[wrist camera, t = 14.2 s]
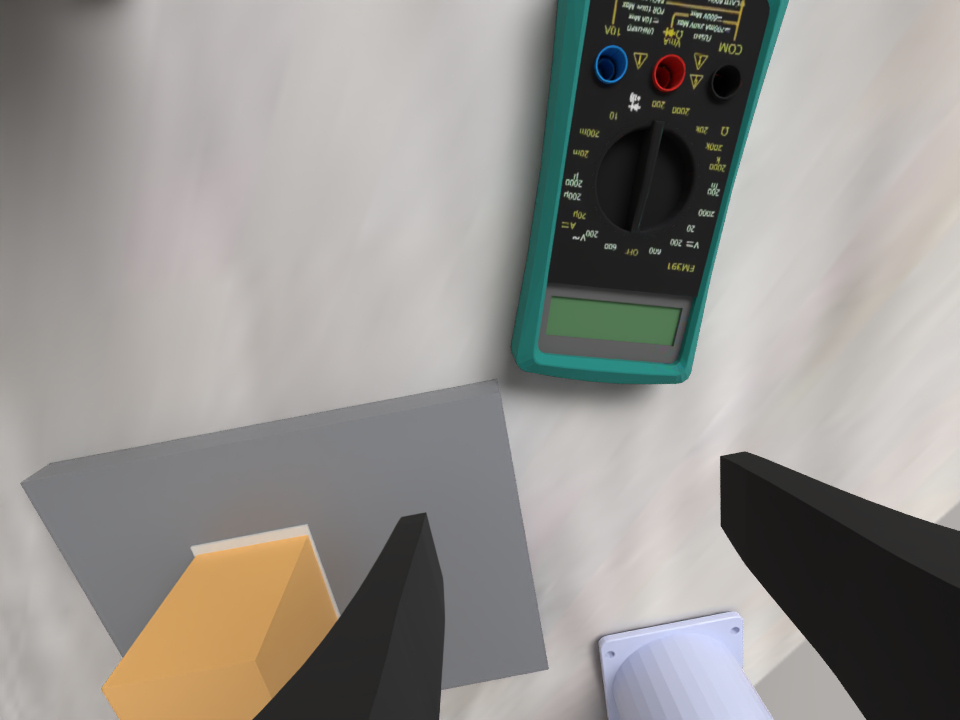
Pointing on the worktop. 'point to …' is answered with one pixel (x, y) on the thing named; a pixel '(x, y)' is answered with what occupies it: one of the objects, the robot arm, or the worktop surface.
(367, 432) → the grey flat plate
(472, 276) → the worktop surface
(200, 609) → the block
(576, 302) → the digital multimeter
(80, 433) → the worktop surface
